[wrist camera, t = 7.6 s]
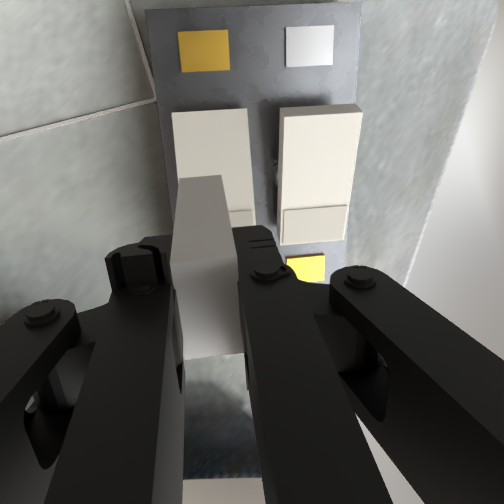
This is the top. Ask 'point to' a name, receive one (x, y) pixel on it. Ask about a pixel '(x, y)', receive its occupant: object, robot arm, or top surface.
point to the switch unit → (257, 88)
